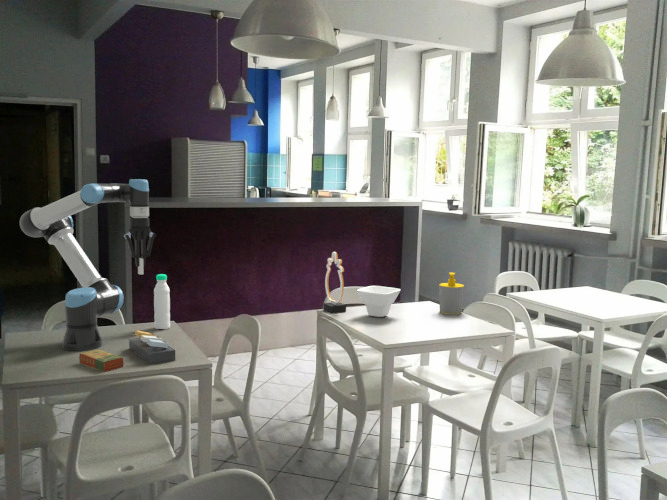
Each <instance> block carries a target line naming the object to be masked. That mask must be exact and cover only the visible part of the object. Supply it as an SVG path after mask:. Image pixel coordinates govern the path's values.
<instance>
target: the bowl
mask: <svg viewBox="0 0 667 500" xmlns="http://www.w3.org/2000/svg"><path fill="white" fill-rule="evenodd" d="M400 292H401V288H396V287H390V286H389V287H388V286H382V285H369V286H364V287H360V288H358V289H357V290H356V293H357V294H358V296H359V298H360V300H361V302H362V303H363V304H364V305H365V307H366V312H367V315H368V316H371V317H377V318H383V317H386V316H388V315H389V313H390V310H391V305H392V304H394V302H395V301H396V299H397V298H398V296H399V294H400Z"/></svg>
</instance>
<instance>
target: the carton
mask: <svg viewBox="0 0 667 500" xmlns="http://www.w3.org/2000/svg"><path fill="white" fill-rule="evenodd" d="M78 359H79V364H81V365H83V366H85V367H88V368H92V369H93V370H97V371H100V372H103V373H105V372H109V371H115V370H117V369H121V368H123V367H124V357H122V356H120V355H117V354H114V353H111V352H108V351H105V350H102V349H98V348H97V349H92V350H87V351H86V352H80V353H79V358H78Z"/></svg>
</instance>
